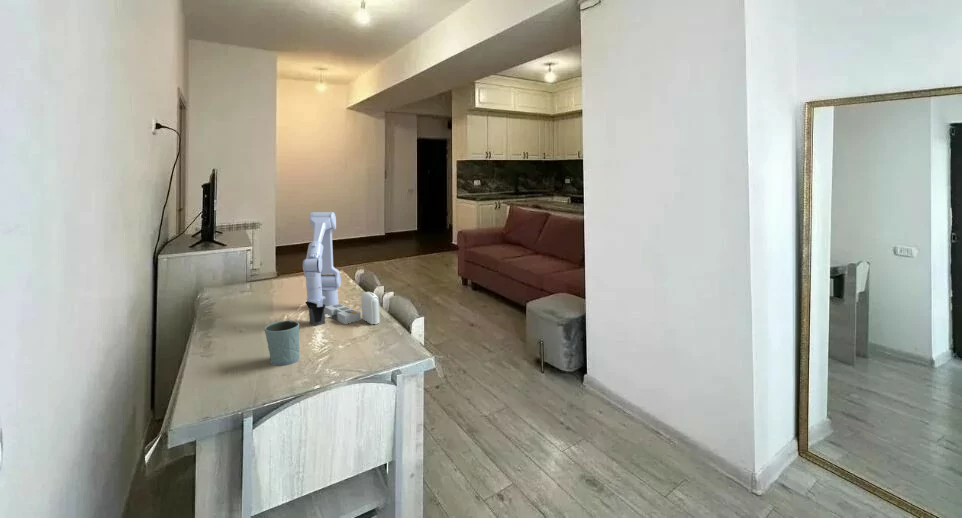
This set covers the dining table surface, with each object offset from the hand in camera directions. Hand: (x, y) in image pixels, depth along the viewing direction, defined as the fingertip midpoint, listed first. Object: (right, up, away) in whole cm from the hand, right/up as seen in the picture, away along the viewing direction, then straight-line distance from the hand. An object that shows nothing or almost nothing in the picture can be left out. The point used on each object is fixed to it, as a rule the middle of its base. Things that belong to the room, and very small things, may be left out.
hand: (316, 319), depth 178 cm
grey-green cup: (+3, -9, -35) cm, 37 cm away
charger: (+1, -1, +2) cm, 2 cm away
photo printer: (+22, -1, +3) cm, 22 cm away
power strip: (+8, 0, +8) cm, 11 cm away
